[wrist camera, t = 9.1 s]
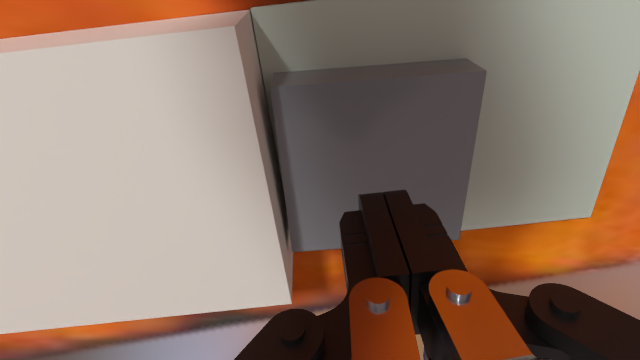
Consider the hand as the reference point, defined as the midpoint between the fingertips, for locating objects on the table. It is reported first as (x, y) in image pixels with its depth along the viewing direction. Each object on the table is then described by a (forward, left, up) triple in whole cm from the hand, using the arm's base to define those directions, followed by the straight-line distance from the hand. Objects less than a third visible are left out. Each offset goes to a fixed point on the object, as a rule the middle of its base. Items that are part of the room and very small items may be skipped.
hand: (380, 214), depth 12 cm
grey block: (0, +1, -6) cm, 6 cm away
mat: (-3, +3, -6) cm, 8 cm away
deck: (+8, -8, -6) cm, 13 cm away
